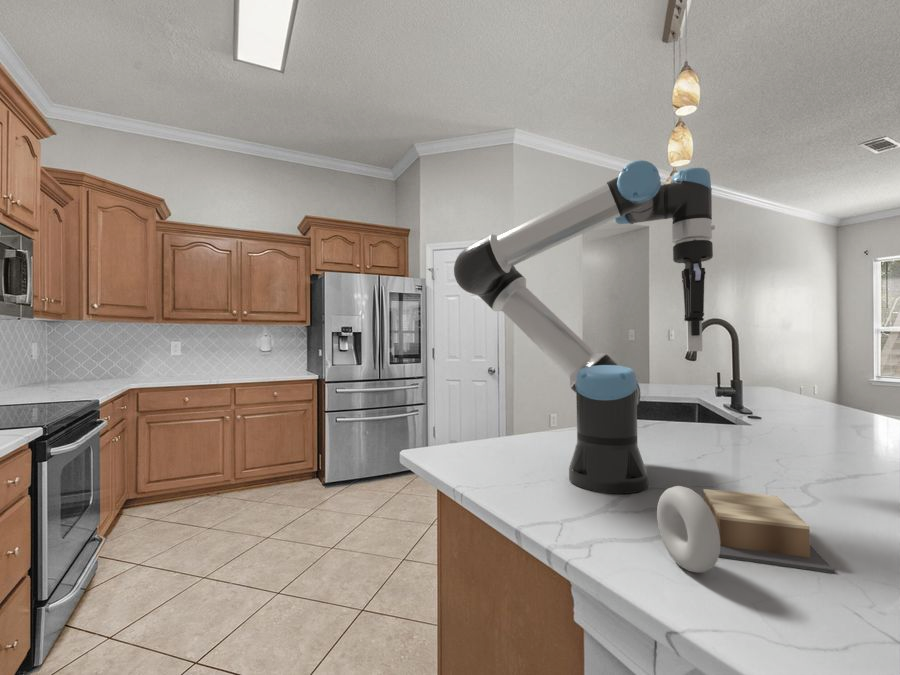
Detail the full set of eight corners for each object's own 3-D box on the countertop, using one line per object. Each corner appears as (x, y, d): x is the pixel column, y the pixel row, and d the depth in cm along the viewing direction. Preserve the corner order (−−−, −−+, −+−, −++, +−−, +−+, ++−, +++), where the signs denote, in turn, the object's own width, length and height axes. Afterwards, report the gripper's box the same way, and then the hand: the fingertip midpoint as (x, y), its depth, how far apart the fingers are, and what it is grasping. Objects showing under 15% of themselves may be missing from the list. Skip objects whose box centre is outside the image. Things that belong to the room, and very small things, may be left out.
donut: (652, 550, 59) (650, 476, 60) (676, 548, 60) (674, 475, 60) (700, 591, 49) (698, 502, 50) (728, 589, 50) (726, 501, 50)
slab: (703, 513, 71) (720, 545, 60) (703, 489, 71) (719, 516, 60) (777, 522, 67) (810, 557, 56) (777, 495, 67) (809, 526, 56)
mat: (711, 555, 58) (711, 552, 58) (694, 516, 71) (694, 514, 71) (834, 573, 53) (834, 569, 53) (791, 527, 66) (791, 525, 66)
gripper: (718, 233, 87) (721, 351, 87) (706, 247, 99) (708, 350, 99) (676, 237, 90) (679, 351, 90) (669, 250, 102) (671, 350, 102)
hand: (694, 351), depth 94 cm, fingers closed
